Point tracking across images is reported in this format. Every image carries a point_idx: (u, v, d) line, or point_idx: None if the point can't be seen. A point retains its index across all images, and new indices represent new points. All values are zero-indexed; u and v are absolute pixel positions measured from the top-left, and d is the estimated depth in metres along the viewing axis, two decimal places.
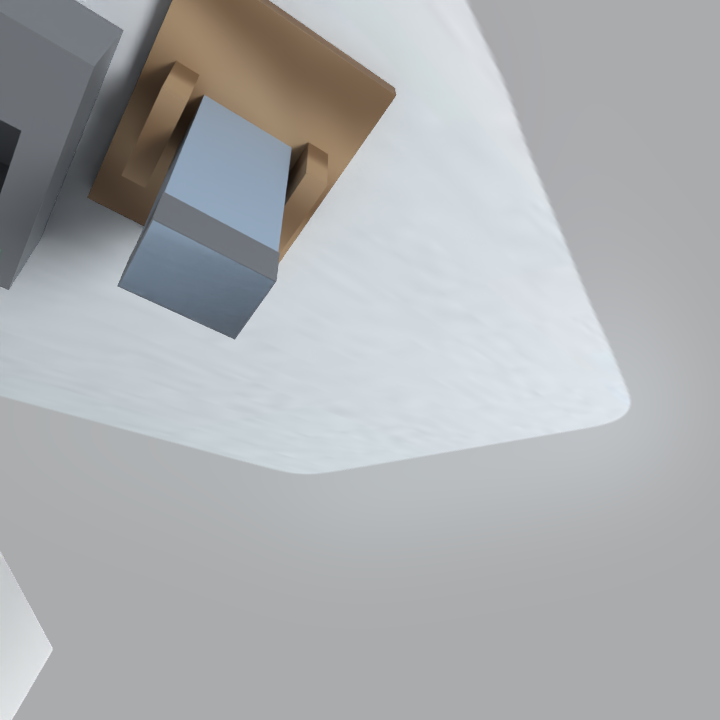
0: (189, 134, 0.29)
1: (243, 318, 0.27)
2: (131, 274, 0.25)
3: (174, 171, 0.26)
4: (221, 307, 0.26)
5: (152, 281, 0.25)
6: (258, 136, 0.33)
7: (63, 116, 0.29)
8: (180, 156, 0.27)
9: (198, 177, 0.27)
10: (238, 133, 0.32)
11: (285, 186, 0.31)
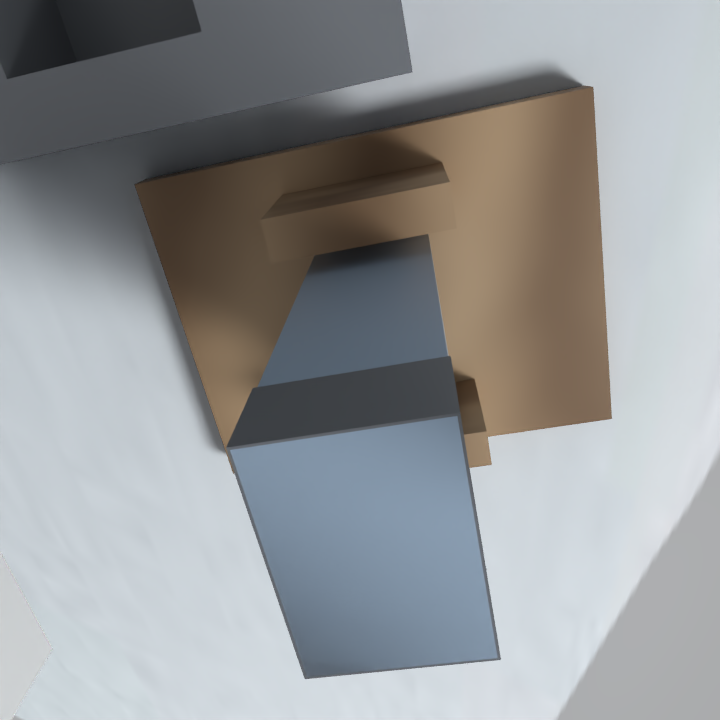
0: (434, 270, 0.16)
1: (366, 664, 0.12)
2: (282, 455, 0.10)
3: (442, 322, 0.13)
4: (357, 623, 0.11)
5: (302, 495, 0.10)
6: None
7: (287, 80, 0.15)
8: (438, 299, 0.14)
9: None
10: None
11: None
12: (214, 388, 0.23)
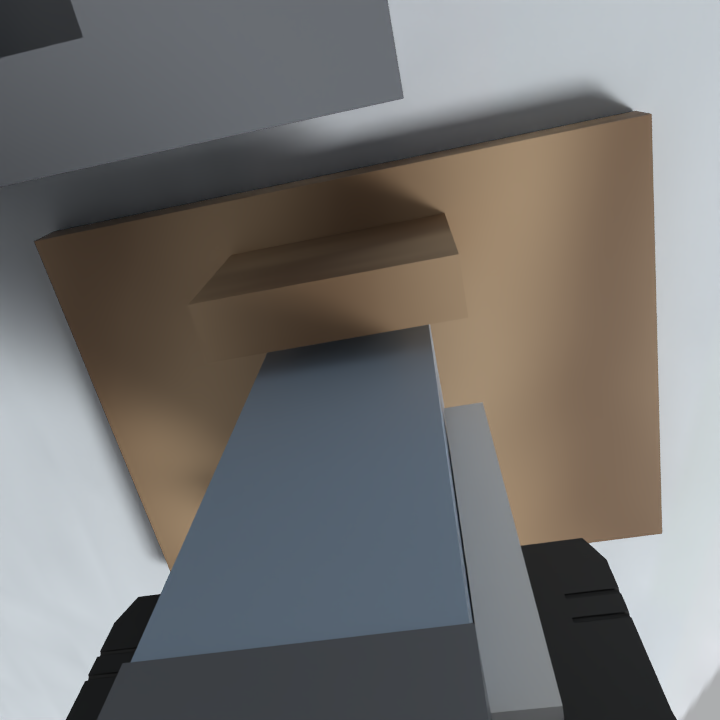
0: (436, 382, 0.11)
1: None
2: None
3: (454, 511, 0.08)
4: None
5: None
6: None
7: (216, 110, 0.10)
8: (445, 451, 0.09)
9: (461, 545, 0.09)
10: None
11: None
12: (152, 494, 0.18)
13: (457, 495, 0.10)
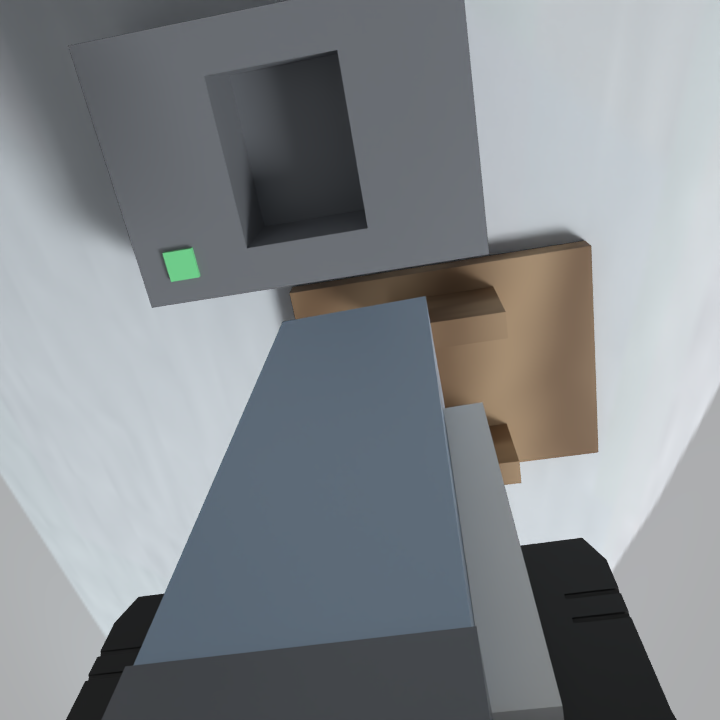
0: (438, 385, 0.11)
1: None
2: None
3: (456, 514, 0.08)
4: None
5: None
6: None
7: (415, 255, 0.26)
8: (447, 453, 0.09)
9: (463, 548, 0.09)
10: None
11: None
12: None
13: (457, 495, 0.10)
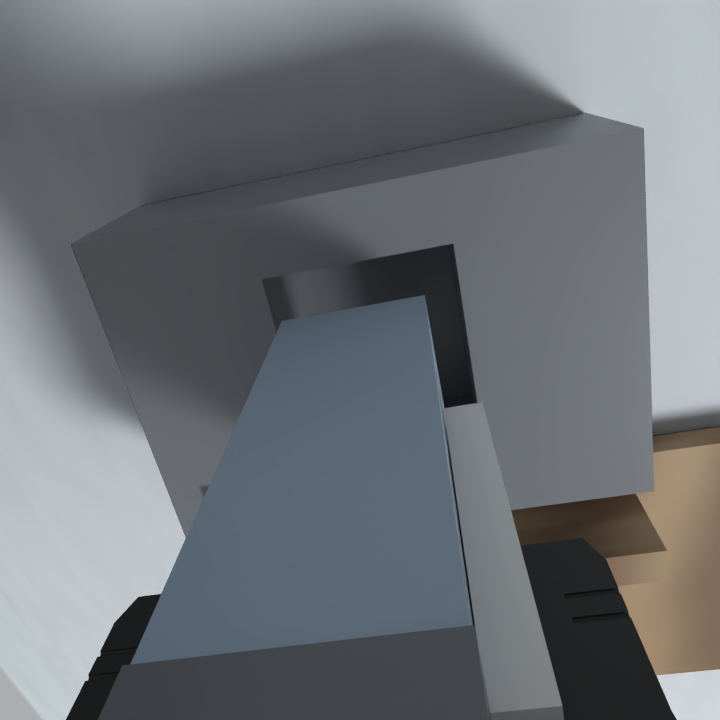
0: (436, 383, 0.11)
1: None
2: None
3: (454, 513, 0.08)
4: None
5: None
6: None
7: (550, 493, 0.19)
8: (445, 452, 0.09)
9: (461, 546, 0.09)
10: None
11: None
12: None
13: (457, 495, 0.10)
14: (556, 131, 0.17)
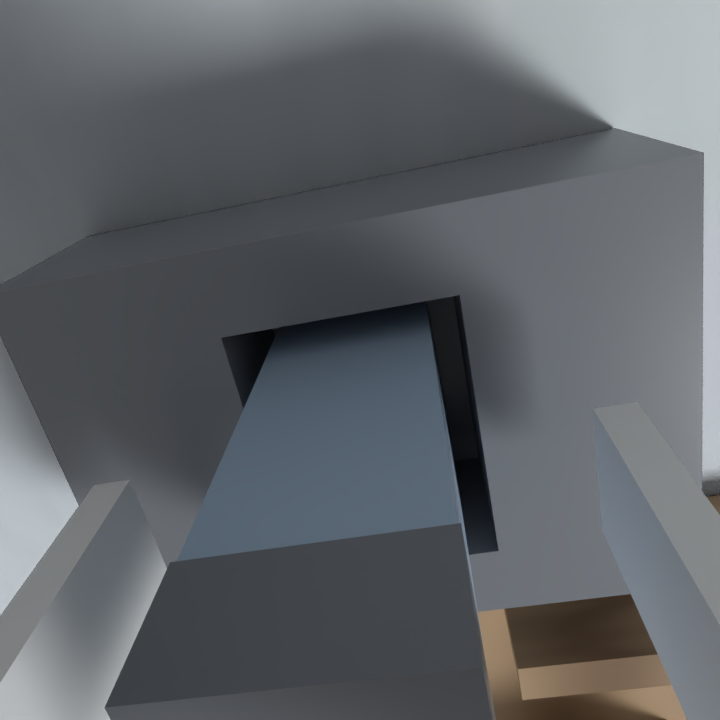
0: (432, 348, 0.13)
1: None
2: None
3: (446, 447, 0.09)
4: None
5: None
6: None
7: (576, 587, 0.16)
8: (439, 401, 0.11)
9: (453, 482, 0.10)
10: (440, 381, 0.16)
11: None
12: None
13: (651, 506, 0.09)
14: (585, 153, 0.14)
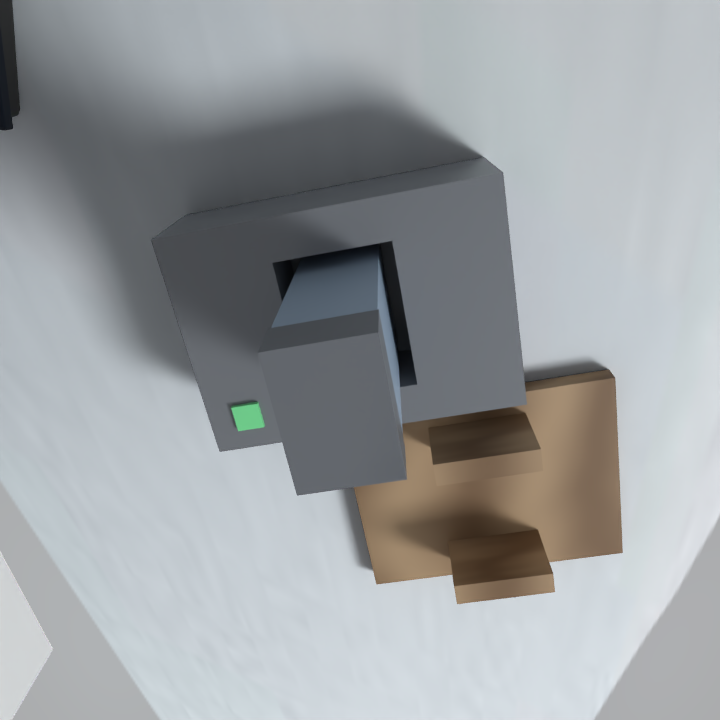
0: (378, 266, 0.26)
1: (332, 484, 0.21)
2: (287, 356, 0.19)
3: (378, 294, 0.22)
4: (326, 458, 0.20)
5: (297, 379, 0.19)
6: (390, 309, 0.30)
7: (460, 406, 0.29)
8: (378, 282, 0.23)
9: (383, 316, 0.23)
10: (387, 294, 0.29)
11: None
12: (371, 533, 0.36)
13: None
14: (458, 171, 0.27)
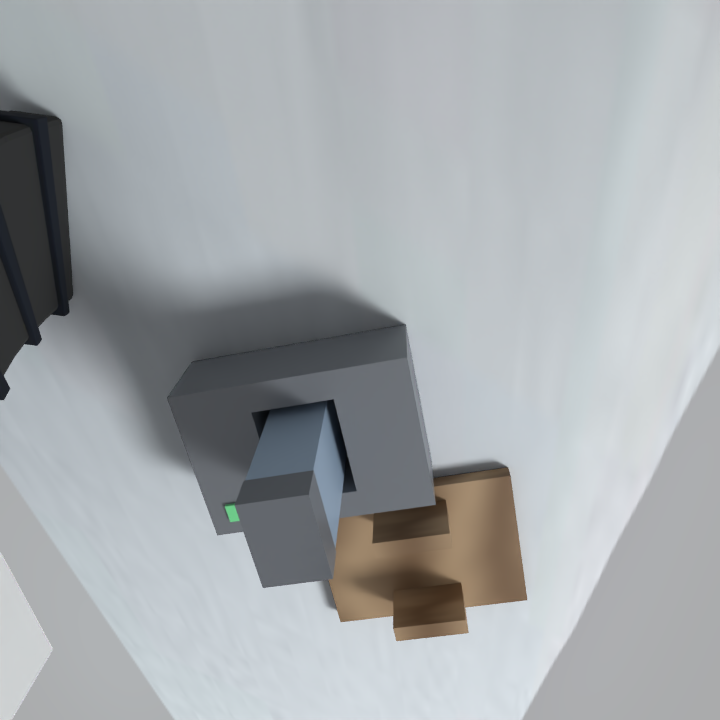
0: (323, 417, 0.37)
1: (285, 581, 0.32)
2: (252, 507, 0.30)
3: (317, 451, 0.34)
4: (280, 565, 0.32)
5: (259, 520, 0.31)
6: (340, 431, 0.41)
7: (388, 505, 0.40)
8: (319, 437, 0.35)
9: (322, 461, 0.34)
10: (335, 425, 0.40)
11: (342, 485, 0.39)
12: (334, 585, 0.48)
13: None
14: (382, 345, 0.38)
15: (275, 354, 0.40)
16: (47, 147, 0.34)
